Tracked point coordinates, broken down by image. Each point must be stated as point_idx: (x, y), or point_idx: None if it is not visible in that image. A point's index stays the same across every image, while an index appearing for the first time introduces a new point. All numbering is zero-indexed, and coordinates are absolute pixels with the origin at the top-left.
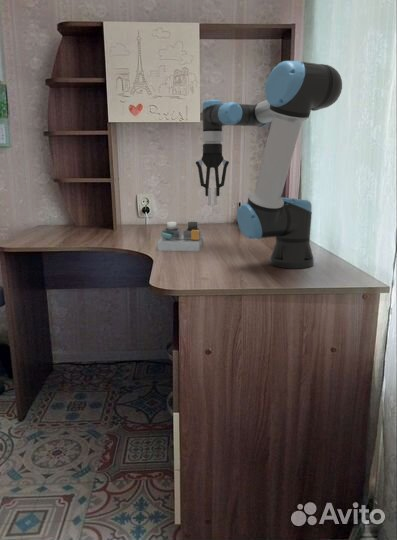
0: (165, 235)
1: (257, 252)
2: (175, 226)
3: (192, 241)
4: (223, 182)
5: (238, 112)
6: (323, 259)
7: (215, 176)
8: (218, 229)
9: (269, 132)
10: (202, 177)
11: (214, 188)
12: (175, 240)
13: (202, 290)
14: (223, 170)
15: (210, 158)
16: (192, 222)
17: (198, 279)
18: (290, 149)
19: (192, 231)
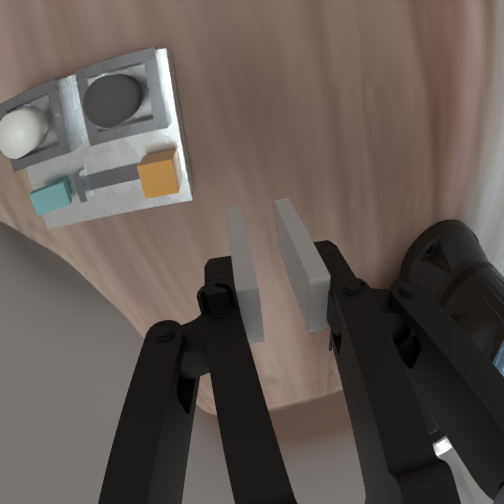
0: (52, 209)
1: (389, 154)
2: (41, 135)
3: (164, 202)
4: (414, 352)
5: None
6: (497, 211)
7: (355, 430)
8: None
9: None
10: (187, 448)
11: (309, 332)
12: (95, 201)
13: (277, 409)
14: (465, 454)
15: None
16: (108, 108)
17: (262, 385)
18: None
19: (151, 197)
